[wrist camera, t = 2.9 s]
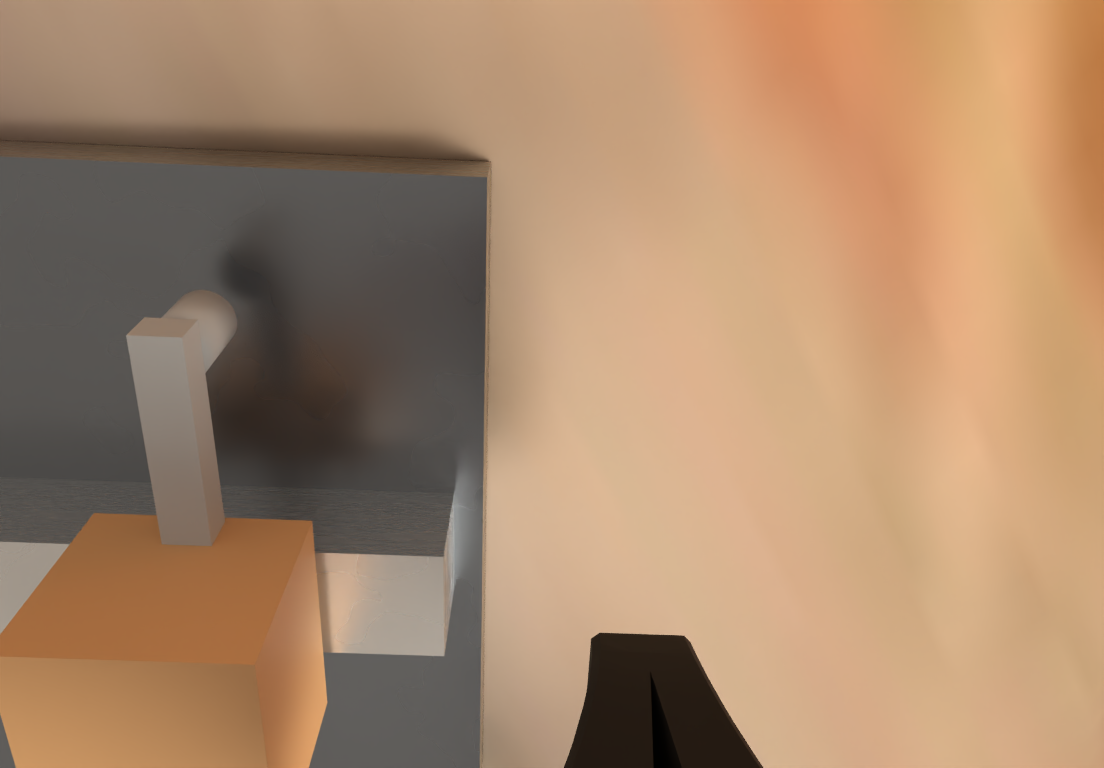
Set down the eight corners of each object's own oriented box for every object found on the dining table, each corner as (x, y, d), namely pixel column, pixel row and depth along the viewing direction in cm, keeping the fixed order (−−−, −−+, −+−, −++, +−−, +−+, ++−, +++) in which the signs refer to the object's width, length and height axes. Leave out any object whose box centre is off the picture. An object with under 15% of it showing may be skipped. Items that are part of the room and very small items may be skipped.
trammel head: (314, 291, 13) (224, 429, 10) (340, 655, 16) (280, 866, 13) (88, 281, 13) (-86, 418, 10) (156, 649, 16) (42, 860, 13)
